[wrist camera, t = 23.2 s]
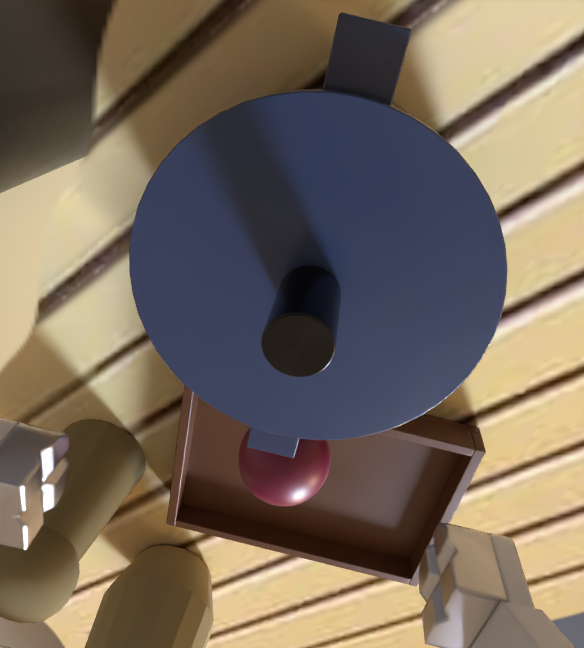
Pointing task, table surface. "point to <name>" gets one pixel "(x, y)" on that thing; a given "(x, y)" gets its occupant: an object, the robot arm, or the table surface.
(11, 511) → the robot arm
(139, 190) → the table surface
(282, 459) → the beet
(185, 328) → the lid
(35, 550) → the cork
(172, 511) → the tray
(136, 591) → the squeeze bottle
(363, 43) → the pot
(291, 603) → the table surface
